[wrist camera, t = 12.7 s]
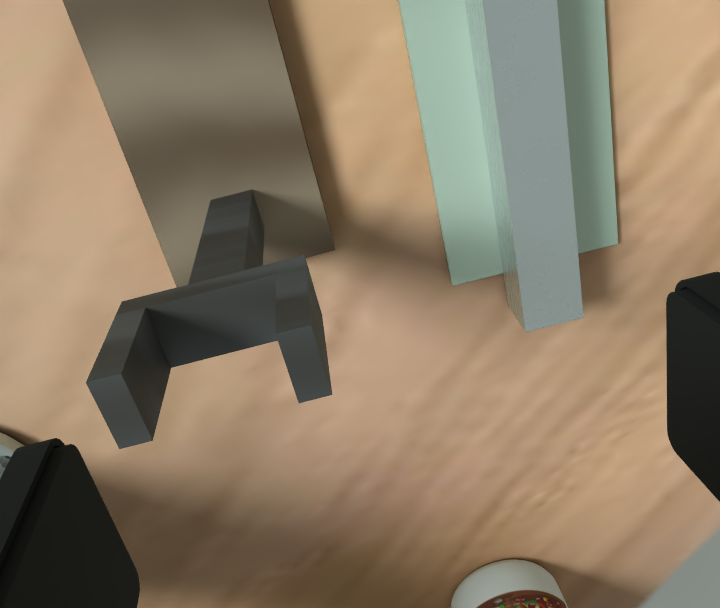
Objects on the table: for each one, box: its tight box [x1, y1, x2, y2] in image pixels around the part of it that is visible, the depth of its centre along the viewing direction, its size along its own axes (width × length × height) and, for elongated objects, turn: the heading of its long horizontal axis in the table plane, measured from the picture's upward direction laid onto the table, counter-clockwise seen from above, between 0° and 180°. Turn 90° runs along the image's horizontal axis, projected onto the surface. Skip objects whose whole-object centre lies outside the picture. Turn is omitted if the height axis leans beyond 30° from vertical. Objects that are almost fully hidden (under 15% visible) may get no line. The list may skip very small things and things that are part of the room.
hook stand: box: [63, 0, 335, 449], centre depth 23 cm, size 24×8×16 cm, turn 13°
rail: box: [465, 0, 583, 332], centre depth 31 cm, size 24×3×3 cm, turn 13°
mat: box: [398, 0, 618, 286], centre depth 32 cm, size 20×9×1 cm, turn 13°
